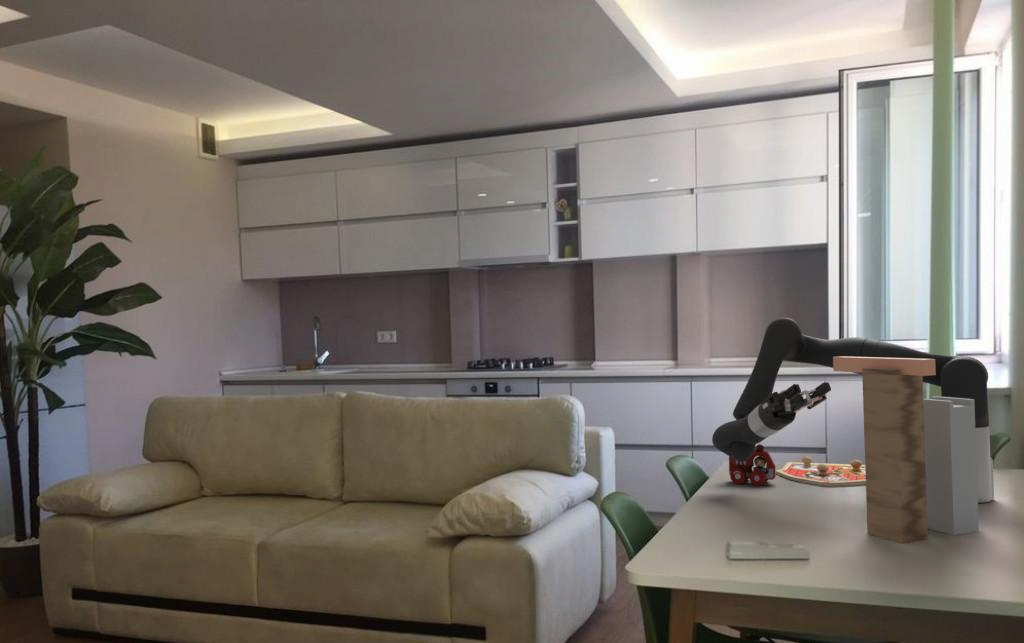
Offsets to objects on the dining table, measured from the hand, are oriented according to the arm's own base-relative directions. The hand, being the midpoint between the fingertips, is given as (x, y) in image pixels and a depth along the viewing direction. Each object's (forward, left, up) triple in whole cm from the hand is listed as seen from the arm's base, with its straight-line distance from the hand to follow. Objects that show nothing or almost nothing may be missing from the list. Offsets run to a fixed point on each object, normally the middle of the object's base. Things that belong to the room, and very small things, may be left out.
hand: (813, 386), depth 171 cm
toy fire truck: (-10, -34, -29) cm, 46 cm away
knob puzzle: (-34, -30, -29) cm, 54 cm away
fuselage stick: (0, +18, +4) cm, 19 cm away
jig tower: (0, +21, -28) cm, 35 cm away
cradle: (-14, +21, -28) cm, 38 cm away
